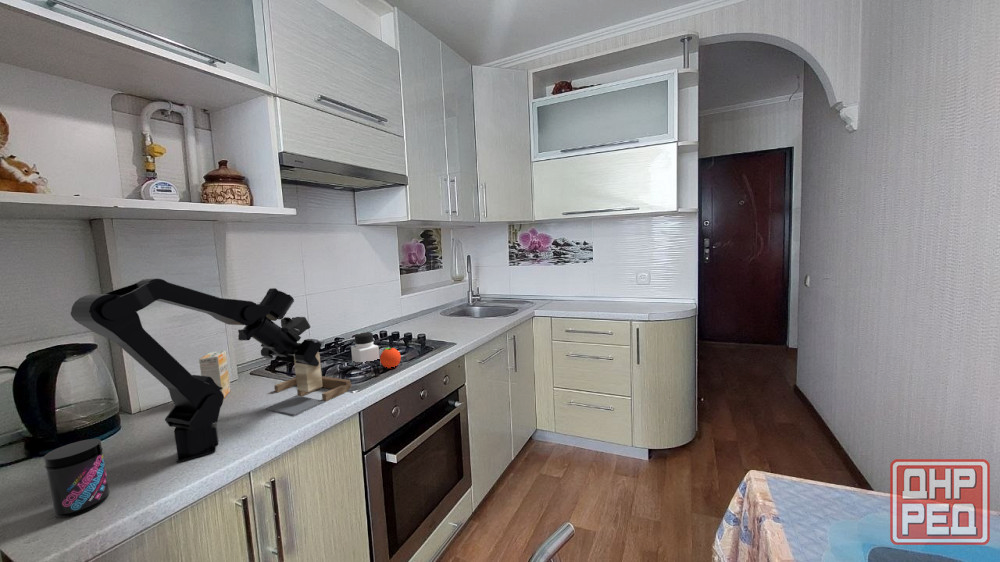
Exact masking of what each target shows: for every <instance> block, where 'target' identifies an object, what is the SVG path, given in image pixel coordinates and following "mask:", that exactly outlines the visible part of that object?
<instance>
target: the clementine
mask: <svg viewBox="0 0 1000 562" xmlns="http://www.w3.org/2000/svg"><path fill="white" fill-rule="evenodd" d="M401 359H402V356H401V353H400V351H399V350H397V348H394V347H386V348H383V350H382V352H381V353H380V365H382V366H383V367H384V368H386V367H387V368H386V369H392V368H391V367H394V368H396V367H397V366H399V364H400V363H401ZM395 366H396V367H395Z"/></svg>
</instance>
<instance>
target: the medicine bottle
mask: <svg viewBox="0 0 1000 562" xmlns="http://www.w3.org/2000/svg"><path fill="white" fill-rule="evenodd" d="M373 335H374V334H373V333H372V332H370V331H362V332H359V333H357V334H355V335H354V342H355V344H354V345H355V346H352V347H350V350H351V361H352V362H353V361H355V362H366V361H374V360H377V359H380V356H381V354H380V347H379V345H377V344H374V336H373Z"/></svg>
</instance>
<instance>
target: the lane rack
mask: <svg viewBox="0 0 1000 562" xmlns="http://www.w3.org/2000/svg"><path fill="white" fill-rule="evenodd" d="M322 384H323V386H322V387H324V388H322V387H320V388H321V389H327V388H330V389H328V391H326V392H323V393H321V398H322V399H321V400H323V401H325V402H328V401H330V399H331V400H332V399H333V400H334V399H335V398H336V397H339V396H341V395H343V394H346V393H347V391H348V390H349V389H350V388H351V387H352V382H351V380H350V379H344V378H337V377H331V376H324V375H322ZM295 386H296V387H297V382H296V377H293V378H290V379H288V380H286V381H285V380H284V381H282V382H280V383H277V384H274V392H275V393H281V392H283V391H285V390H288V389H290V388H291V389H292V388H294V387H295ZM320 388H317V389H315V390H312V391H310V392H305V391H299V390H296V392H297V396H302V397H305V396H306V395H309V394H311V393H313V392H316V391H318V390H320ZM352 388H353V387H352ZM345 392H346V393H345ZM348 392H349V391H348Z"/></svg>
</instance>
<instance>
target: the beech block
mask: <svg viewBox="0 0 1000 562" xmlns="http://www.w3.org/2000/svg"><path fill="white" fill-rule="evenodd" d="M315 357H316V358H317V360H318V362H319V365H318V366H311V365H306V364H300V363H296V361H297V360H295V355H294V363H293V364H294V370H295V371H294V372H295V378H296V382H297V385H296V389H297V390H299V391H305V392H310V391H312V390H315V389H317V388H320V387H322V386H323V384H322V376H323V375H322V374H323V373H322V367H321V366H322V365H321V356H320V352H319V351H318V352H317V354H316V356H315ZM297 390H296V391H297Z"/></svg>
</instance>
